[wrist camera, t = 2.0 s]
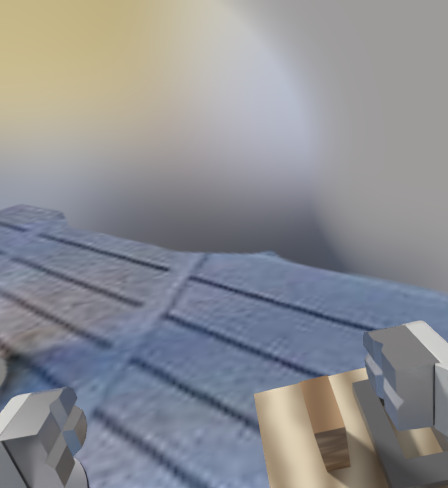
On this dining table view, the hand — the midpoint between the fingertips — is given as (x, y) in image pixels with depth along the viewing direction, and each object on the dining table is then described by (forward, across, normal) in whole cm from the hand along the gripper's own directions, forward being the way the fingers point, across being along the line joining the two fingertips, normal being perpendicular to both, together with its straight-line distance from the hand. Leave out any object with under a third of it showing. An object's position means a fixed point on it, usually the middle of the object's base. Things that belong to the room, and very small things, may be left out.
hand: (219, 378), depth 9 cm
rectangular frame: (+25, +18, -34) cm, 46 cm away
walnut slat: (+25, +8, -35) cm, 44 cm away
